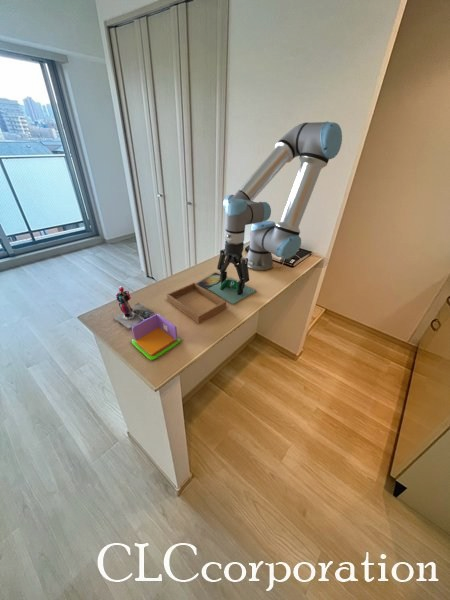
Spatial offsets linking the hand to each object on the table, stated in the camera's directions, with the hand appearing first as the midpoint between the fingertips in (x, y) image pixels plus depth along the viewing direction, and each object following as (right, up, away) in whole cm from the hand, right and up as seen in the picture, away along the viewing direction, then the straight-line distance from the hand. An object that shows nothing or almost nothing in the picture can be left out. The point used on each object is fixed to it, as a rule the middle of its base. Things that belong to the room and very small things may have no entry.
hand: (231, 289), depth 107 cm
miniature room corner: (-26, -19, -28) cm, 42 cm away
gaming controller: (0, 0, +1) cm, 1 cm away
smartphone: (-9, +4, +7) cm, 12 cm away
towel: (0, 0, 0) cm, 1 cm away
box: (-15, -7, -9) cm, 19 cm away
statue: (-37, -11, -17) cm, 42 cm away
